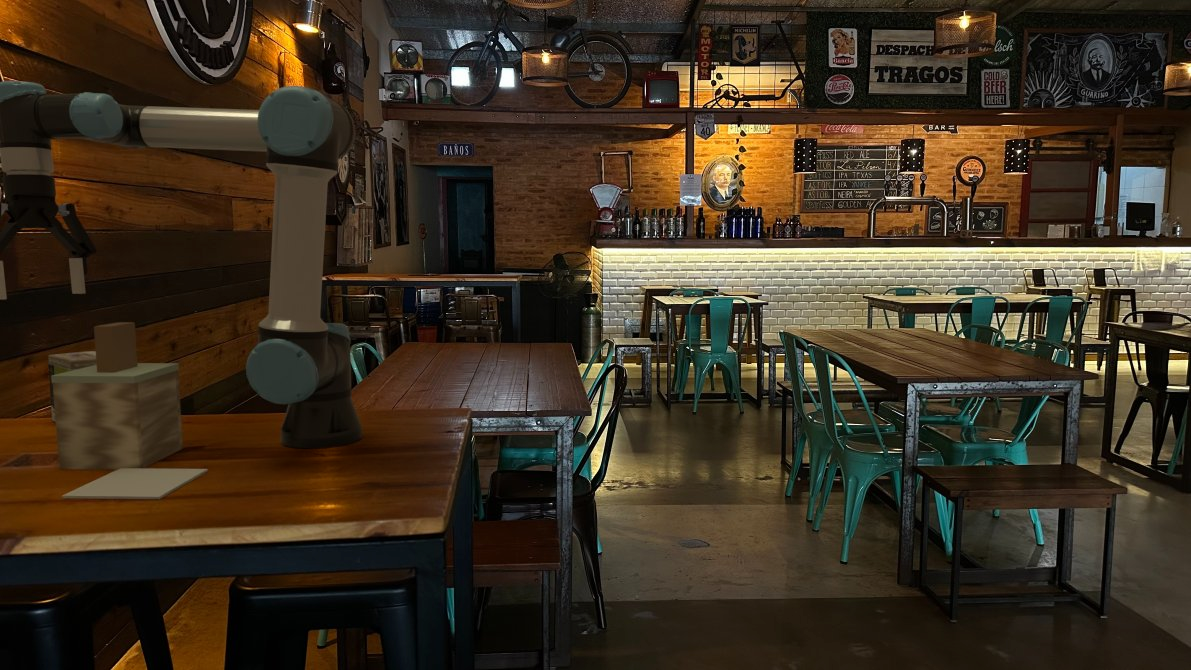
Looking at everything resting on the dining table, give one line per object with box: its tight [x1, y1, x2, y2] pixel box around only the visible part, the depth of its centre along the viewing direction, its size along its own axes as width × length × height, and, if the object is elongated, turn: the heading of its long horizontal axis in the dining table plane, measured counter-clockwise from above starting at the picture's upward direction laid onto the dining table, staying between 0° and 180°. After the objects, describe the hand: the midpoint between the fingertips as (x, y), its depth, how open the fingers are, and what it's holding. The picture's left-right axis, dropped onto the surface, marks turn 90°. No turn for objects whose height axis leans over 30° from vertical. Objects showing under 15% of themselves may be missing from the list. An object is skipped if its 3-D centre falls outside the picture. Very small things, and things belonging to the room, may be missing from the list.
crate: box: [53, 370, 184, 471], centre depth 147 cm, size 14×14×15 cm
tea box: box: [47, 350, 97, 423], centre depth 175 cm, size 15×10×15 cm, turn 49°
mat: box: [61, 467, 209, 500], centre depth 133 cm, size 15×15×1 cm
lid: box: [51, 321, 180, 383], centre depth 145 cm, size 14×14×10 cm
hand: (41, 296), depth 146 cm, fingers open, 13 cm apart
